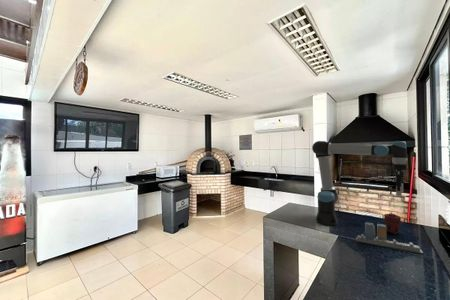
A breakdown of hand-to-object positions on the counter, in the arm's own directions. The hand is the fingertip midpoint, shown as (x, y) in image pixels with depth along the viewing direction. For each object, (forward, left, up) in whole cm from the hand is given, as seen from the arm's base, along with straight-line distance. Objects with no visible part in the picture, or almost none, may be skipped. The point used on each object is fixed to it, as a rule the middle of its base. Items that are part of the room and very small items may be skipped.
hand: (399, 194), depth 134 cm
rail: (-13, -32, -25) cm, 42 cm away
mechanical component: (-6, -8, -25) cm, 27 cm away
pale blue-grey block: (-14, -24, -25) cm, 37 cm away
